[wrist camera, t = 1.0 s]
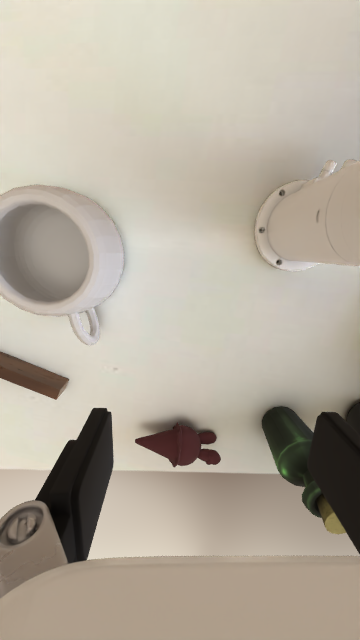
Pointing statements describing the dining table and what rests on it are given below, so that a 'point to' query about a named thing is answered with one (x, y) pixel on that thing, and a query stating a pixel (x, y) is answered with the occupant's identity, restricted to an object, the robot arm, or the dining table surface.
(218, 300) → the dining table surface
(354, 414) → the cola bottle
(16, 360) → the corner stop
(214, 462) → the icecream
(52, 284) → the mug
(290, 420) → the potion bottle
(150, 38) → the dining table surface
